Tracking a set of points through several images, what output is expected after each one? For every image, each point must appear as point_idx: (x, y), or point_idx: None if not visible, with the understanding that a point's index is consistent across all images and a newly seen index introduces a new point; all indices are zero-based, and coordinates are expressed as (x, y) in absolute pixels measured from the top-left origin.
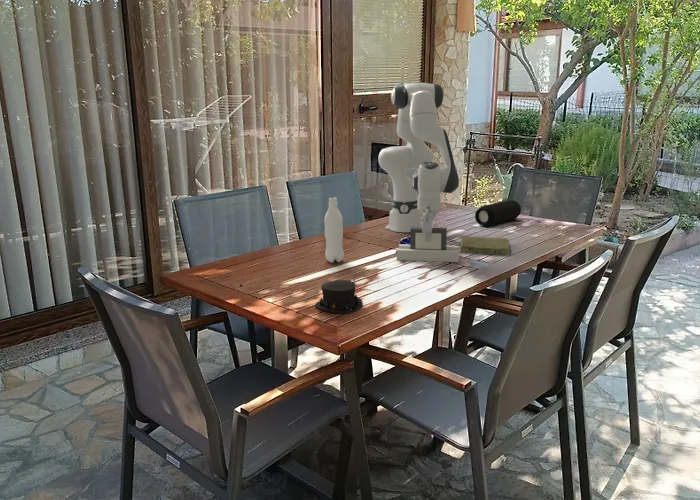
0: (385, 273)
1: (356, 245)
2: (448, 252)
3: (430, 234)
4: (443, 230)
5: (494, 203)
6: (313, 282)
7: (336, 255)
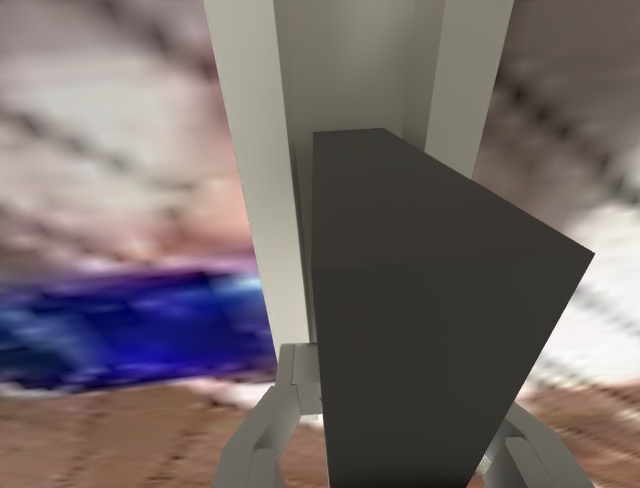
0: (603, 369)
1: None
2: (487, 96)
3: (523, 410)
4: (533, 314)
5: None
6: (622, 477)
7: None
